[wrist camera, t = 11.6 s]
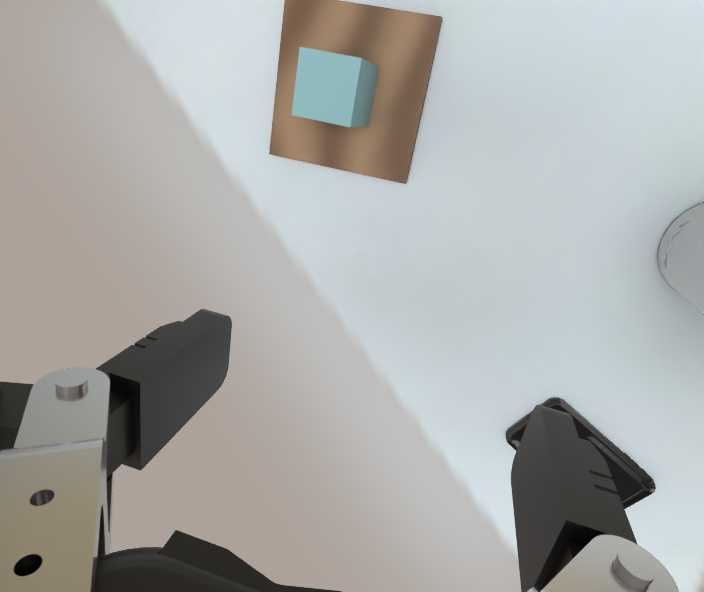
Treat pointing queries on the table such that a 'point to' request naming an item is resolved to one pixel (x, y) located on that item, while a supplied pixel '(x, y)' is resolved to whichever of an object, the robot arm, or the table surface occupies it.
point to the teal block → (334, 88)
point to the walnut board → (390, 93)
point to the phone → (623, 470)
